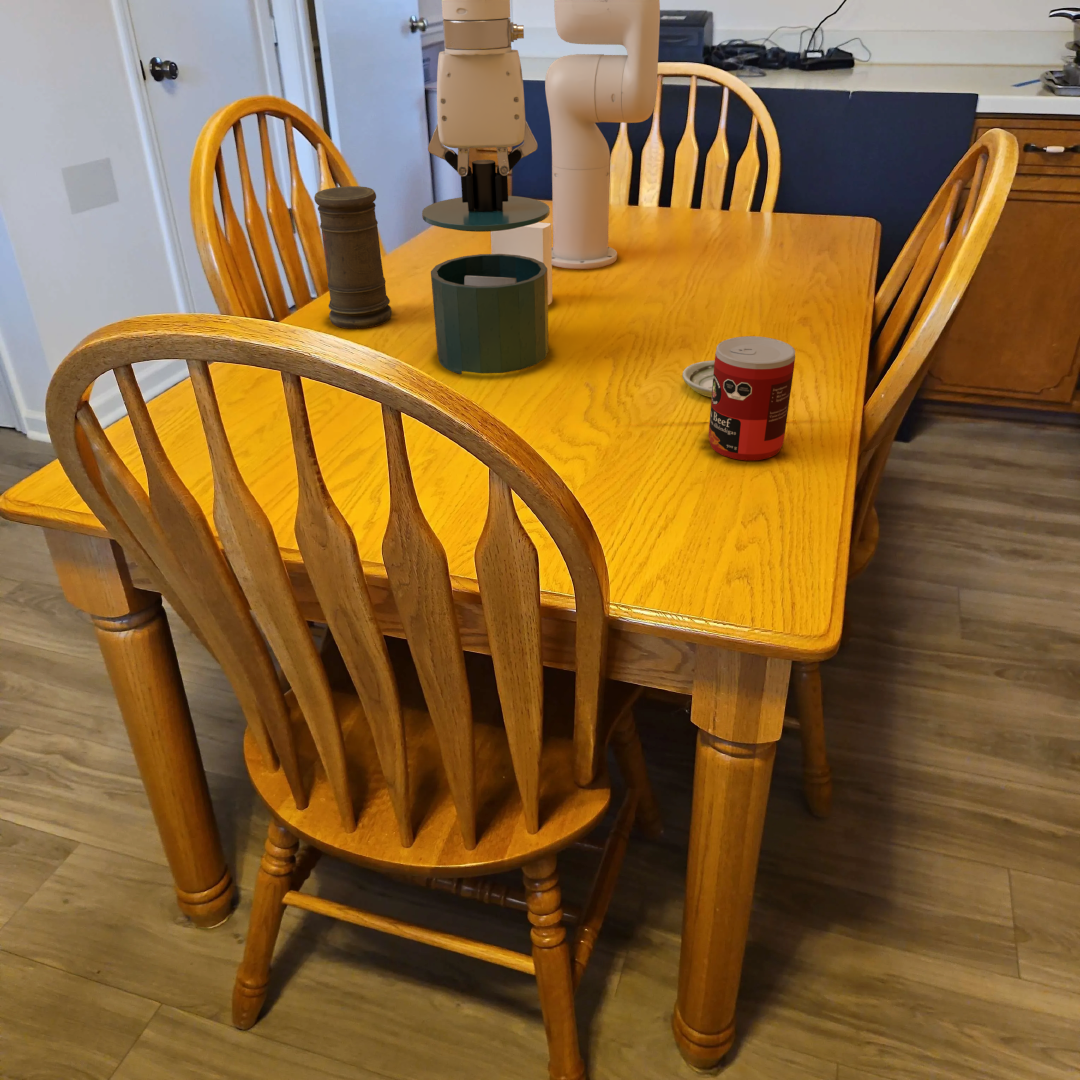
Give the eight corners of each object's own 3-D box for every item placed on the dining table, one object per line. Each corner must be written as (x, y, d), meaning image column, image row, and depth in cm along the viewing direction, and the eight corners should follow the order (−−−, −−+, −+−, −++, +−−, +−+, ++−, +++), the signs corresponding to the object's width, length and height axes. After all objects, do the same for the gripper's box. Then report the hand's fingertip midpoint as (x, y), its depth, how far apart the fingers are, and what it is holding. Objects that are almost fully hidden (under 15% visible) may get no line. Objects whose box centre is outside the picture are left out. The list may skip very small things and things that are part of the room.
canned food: (700, 432, 103) (708, 337, 97) (770, 428, 104) (782, 333, 98) (717, 464, 97) (726, 365, 91) (792, 460, 97) (806, 360, 91)
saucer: (744, 416, 106) (746, 397, 105) (667, 399, 111) (669, 380, 109) (774, 387, 113) (776, 368, 112) (700, 372, 118) (702, 354, 116)
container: (401, 311, 139) (389, 186, 130) (373, 332, 132) (358, 201, 122) (349, 306, 142) (332, 183, 132) (318, 326, 135) (299, 197, 125)
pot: (441, 337, 130) (435, 255, 124) (547, 335, 130) (546, 252, 124) (433, 378, 117) (425, 289, 111) (550, 375, 118) (548, 286, 111)
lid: (428, 206, 121) (424, 151, 117) (548, 203, 121) (547, 148, 117) (416, 237, 107) (411, 176, 104) (551, 234, 107) (550, 173, 104)
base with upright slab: (561, 298, 143) (561, 218, 137) (537, 316, 136) (535, 233, 130) (509, 291, 146) (506, 213, 140) (483, 309, 140) (478, 227, 133)
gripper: (549, 33, 107) (551, 199, 117) (408, 36, 107) (422, 202, 116) (551, 38, 100) (553, 214, 110) (401, 42, 100) (416, 217, 110)
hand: (485, 206), depth 113 cm, fingers closed on lid, 2 cm apart
